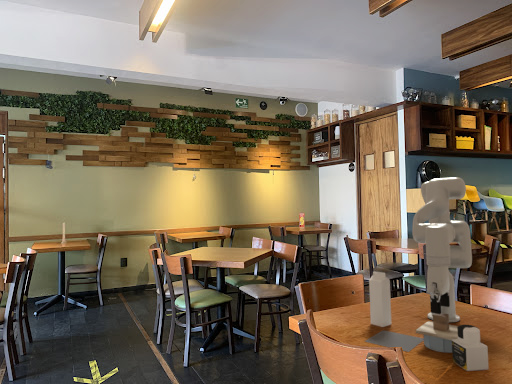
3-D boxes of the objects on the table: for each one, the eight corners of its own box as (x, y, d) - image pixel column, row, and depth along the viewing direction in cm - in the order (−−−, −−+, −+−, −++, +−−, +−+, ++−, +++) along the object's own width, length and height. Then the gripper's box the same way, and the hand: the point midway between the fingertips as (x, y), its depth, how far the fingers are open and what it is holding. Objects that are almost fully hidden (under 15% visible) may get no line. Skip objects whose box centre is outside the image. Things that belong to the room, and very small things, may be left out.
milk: (383, 328, 154) (380, 274, 155) (370, 325, 159) (368, 272, 160) (391, 325, 158) (389, 272, 158) (379, 322, 163) (377, 270, 163)
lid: (428, 323, 141) (427, 307, 142) (467, 330, 133) (466, 313, 133) (415, 332, 132) (414, 315, 132) (456, 341, 123) (455, 322, 123)
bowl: (430, 340, 140) (430, 324, 140) (464, 347, 132) (463, 330, 133) (420, 348, 132) (419, 332, 132) (454, 356, 124) (454, 339, 124)
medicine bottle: (452, 361, 120) (450, 323, 121) (473, 360, 121) (471, 322, 122) (466, 371, 113) (464, 330, 114) (489, 370, 114) (487, 329, 114)
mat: (383, 331, 150) (383, 330, 150) (425, 340, 140) (425, 338, 140) (364, 343, 139) (364, 341, 139) (408, 353, 128) (408, 351, 128)
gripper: (435, 256, 142) (437, 302, 142) (418, 263, 129) (420, 314, 129) (456, 257, 137) (459, 305, 137) (442, 265, 124) (444, 318, 124)
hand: (440, 309), depth 133 cm, fingers open, 9 cm apart
